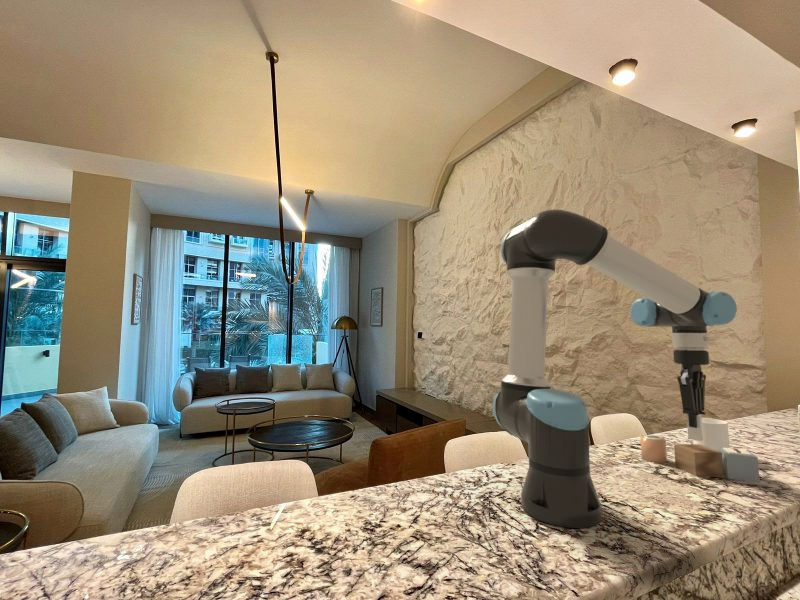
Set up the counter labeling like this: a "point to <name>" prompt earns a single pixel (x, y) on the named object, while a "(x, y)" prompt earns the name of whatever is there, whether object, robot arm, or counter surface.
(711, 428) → the cup
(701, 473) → the walnut block
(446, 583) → the counter surface
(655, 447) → the terracotta cylinder
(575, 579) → the counter surface
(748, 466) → the slate block
